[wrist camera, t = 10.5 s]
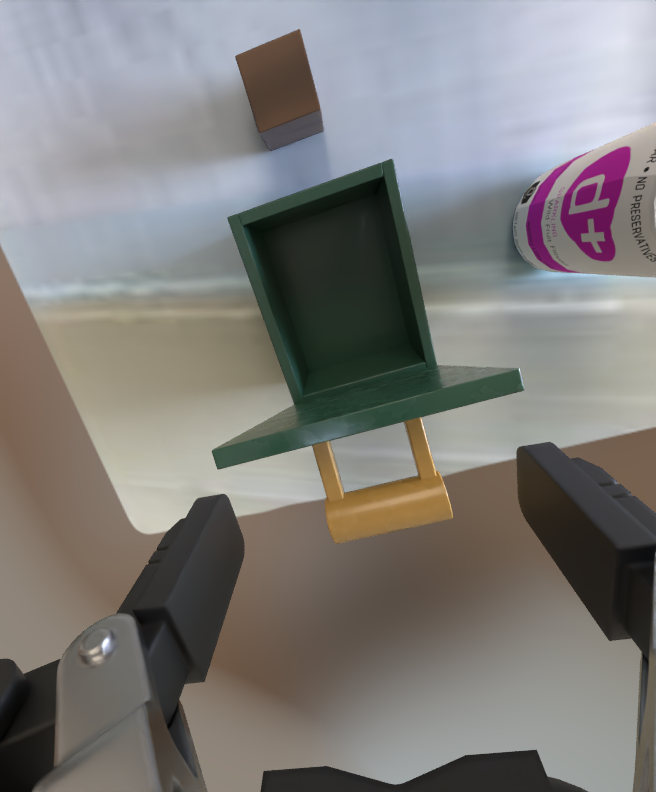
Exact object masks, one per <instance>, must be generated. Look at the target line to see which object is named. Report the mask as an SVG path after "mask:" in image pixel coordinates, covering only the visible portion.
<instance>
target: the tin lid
mask: <svg viewBox="0 0 656 792" xmlns="http://www.w3.org/2000/svg"><path fill="white" fill-rule="evenodd" d="M520 391H524V385H523V381H522V377H521V373H520V369H519V368H494V367H468V366H442V365H437V366H433V367H430V368H426V369H422V370H419V371H415V372H412V373H408V374H404V375H401V376H397V377H393V378H390V379H386V380H383V381H379V382H375V383H372V384H368V385H364V386H361V387H357V388H354V389H350V390H346V391H343V392H339V393H335V394H332V395H328V396H325V397H321V398H317V399H314V400H310V401H306V402H303V403H299V404H296V405H293V406H291V407H289V408H287V409H286V410H284V411H282V412H280V413H278V414H277V415H275V416H273V417H271V418H269V419H268V420H266V421H264V422H262V423H260V424H259V425H257V426H255V427H253V428H251V429H249V430H248V431H246V432H244V433H242V434H240V435H239V436H237V437H235V438H233V439H231V440H230V441H228V442H226V443H224V444H222V445H221V446H219V447H217V448H215V449H213V450H212V453H213V457H214V460H215V463H216V467H217V469H222V468H226V467H230V466H234V465H238V464H242V463H246V462H249V461H253V460H257V459H261V458H265V457H269V456H273V455H277V454H280V453H284V452H288V451H292V450H296V449H300V448H304V447H308V446H311V445H312V447H313V450H314V454H315V457H316V461H317V464H318V468H319V471H320V475H321V478H322V482H323V485H324V489H325V492H326V496H327V498H326V500H325V512H326V519H327V524H328V528H329V531H330V534H331V536H332V539H333V541H334V542H335V543H336V544H339V543H344V542H348V541H353V540H357V539H362V538H366V537H371V536H376V535H380V534H385V533H389V532H394V531H398V530H402V529H408V528H412V527H417V526H421V525H426V524H430V523H435V522H439V521H444V520H449V519H452V517H453V514H452V509H451V505H450V501H449V498H448V494H447V491H446V488H445V485H444V482H443V480H442V477H441V475H440V473H439V472H438V471H436V470H435V467H434V463H433V459H432V455H431V452H430V448H429V444H428V441H427V437H426V433H425V429H424V426H423V422H422V418H421V417H424V416H427V415H431V414H435V413H439V412H443V411H447V410H451V409H455V408H458V407H462V406H466V405H470V404H474V403H478V402H482V401H485V400H489V399H493V398H497V397H501V396H505V395H509V394H513V393H516V392H520ZM400 422H404V424H405V428H406V432H407V435H408V439H409V443H410V446H411V450H412V454H413V457H414V461H415V465H416V468H417V472H418V475H417V476H413V477H409V478H405V479H401V480H396V481H392V482H388V483H384V484H380V485H375V486H371V487H367V488H363V489H358V490H354V491H350V492H346V493H345V492H344V489H343V485H342V482H341V478H340V475H339V471H338V468H337V464H336V461H335V457H334V454H333V450H332V447H331V443H330V441H331V440H335V439H338V438H342V437H346V436H350V435H354V434H358V433H362V432H366V431H369V430H373V429H377V428H381V427H385V426H389V425H393V424H396V423H400Z"/></svg>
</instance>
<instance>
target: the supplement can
mask: <svg viewBox="0 0 656 792" xmlns="http://www.w3.org/2000/svg"><path fill="white" fill-rule="evenodd" d="M513 235H514V241H515V246H516V248H517V249H518V251H519V253H520V254H521V256H522V257H523V259H524V260H525V261H527V262H528V263H529V264H531V265H532V266H534V267H535V268H537V269H542V270H546V271H551V272H566V273H585V274H603V275H621V276H639V277H656V122H655V123H653V124H651V125H649V126H646V127H644V128H642V129H640V130H637V131H635V132H633V133H630V134H628V135H626V136H624V137H621V138H619V139H617V140H614V141H612V142H610V143H608V144H605V145H603V146H601V147H599V148H596V149H594V150H592V151H589V152H587V153H585V154H583V155H580V156H578V157H576V158H574V159H571V160H569V161H567V162H564V163H562V164H560V165H558V166H556V167H554V168H552V169H550V170H549V171H547V172H545V173H544V174H542V175H540V176H539V177H538V178H537V179H536V180H535V181H534V182H533V183H532V184H531V185H530V186H529V187H528V188H527V190H526V191H525V192H524V194H523V196H522V198H521V200H520V202H519V204H518V206H517V208H516V211H515V217H514V222H513Z"/></svg>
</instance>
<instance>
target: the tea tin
mask: <svg viewBox="0 0 656 792" xmlns="http://www.w3.org/2000/svg"><path fill="white" fill-rule="evenodd" d="M227 219H228V221H229V224H230V227H231V230H232V233H233V235H234V238H235V241H236V244H237V246H238V249H239V252H240V255H241V257H242V260H243V263H244V266H245V269H246V271H247V274H248V277H249V280H250V282H251V285H252V288H253V291H254V294H255V296H256V299H257V302H258V305H259V307H260V310H261V313H262V316H263V318H264V321H265V324H266V327H267V330H268V332H269V335H270V338H271V341H272V343H273V346H274V349H275V352H276V355H277V357H278V360H279V363H280V366H281V368H282V371H283V374H284V377H285V379H286V382H287V385H288V388H289V391H290V393H291V396H292V399H293V402H294V404H295V405H296V404H299V403H303V402H306V401H310V400H314V399H317V398H321V397H325V396H328V395H332V394H335V393H339V392H343V391H346V390H350V389H354V388H357V387H361V386H364V385H368V384H372V383H375V382H379V381H383V380H386V379H390V378H393V377H397V376H401V375H404V374H408V373H412V372H415V371H419V370H422V369H426V368H430V367H433V366H437V363H436V358H435V353H434V349H433V344H432V339H431V334H430V330H429V325H428V320H427V316H426V311H425V306H424V302H423V297H422V292H421V288H420V283H419V278H418V274H417V269H416V264H415V260H414V255H413V250H412V245H411V241H410V236H409V231H408V227H407V222H406V217H405V213H404V208H403V203H402V199H401V194H400V189H399V185H398V180H397V175H396V170H395V166H394V161H393V159H390V160H387V161H384V162H382V163H379V164H376V165H373V166H370V167H367V168H365V169H362V170H359V171H356V172H353V173H351V174H348V175H345V176H342V177H339V178H336V179H334V180H331V181H328V182H325V183H322V184H320V185H317V186H314V187H311V188H308V189H306V190H303V191H300V192H297V193H294V194H292V195H289V196H286V197H283V198H280V199H278V200H275V201H272V202H269V203H266V204H264V205H261V206H258V207H255V208H252V209H250V210H247V211H244V212H241V213H239V214H236V215H233V216H230V217H228V218H227Z"/></svg>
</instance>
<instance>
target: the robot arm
mask: <svg viewBox="0 0 656 792" xmlns="http://www.w3.org/2000/svg"><path fill="white" fill-rule="evenodd" d="M517 484H518V500H519V504H520V508H521V511H522V513H523V515H524V517H525V519H526V521H527V522H528V524H529V525H530V527H531V528H532V530H533V531H534V532H535V534H536V535H537V537H538V538H539V540H540V541H541V543H542V544H543V545H544V547H545V548H546V550H547V551H548V553H549V554H550V555H551V557H552V559H553V560H554V561H555V563H556V564H557V566H558V567H559V569H560V570H561V571H562V573H563V575H564V576H565V577H566V579H567V580H568V582H569V583H570V584H571V586H572V587H573V589H574V590H575V592H576V593H577V595H578V596H579V598H580V599H581V601H582V602H583V604H584V605H585V606H586V608H587V609H588V611H589V612H590V614H591V615H592V617H593V618H594V619H595V621H596V622H597V624H598V625H599V627H600V628H601V630H602V631H603V632H604V634H605V635H606V637H607V638H608V640H609V641H612V640H621V639H631V638H632V639H633V641H634V642H635V643H636V645H637V646H638V647H639V649H640V650H641V651H642V654H641V661H640V681H639V701H638V702H639V703H638V722H637V741H636V760H635V773H634V784H633V792H656V513H655V512H654V511H652V510H651V509H650V508H649V507H648V506H646V505H645V504H644V503H643V502H642V501H640V500H639V499H638V498H637V497H635V496H632V495H631V492H629V491H628V490H627V489H626V488H625V487H623V486H622V485H621V484H618V483H617V481H616V480H615V479H614V478H613V477H611V476H610V475H609V474H608V473H607V472H605V471H604V470H603V469H602V468H600V467H598V466H596V465H594V464H592V463H589V462H587V461H585V460H583V459H580V458H572V459H570V458H569V457H568V456H566V455H565V454H564V453H563V452H562V451H561V450H560V449H559V448H558V447H557V446H555V445H554V444H553V443H551V442H546V443H540V444H534V445H528V446H521V447H519V448H518V449H517ZM243 558H244V539H243V536H242V533H241V530H240V527H239V525H238V522H237V519H236V516H235V514H234V511H233V508H232V506H231V503H230V500H229V498H228V497H227V495H225V494H220V495H214V496H208V497H202V498H198V499H197V500H196V501H195V502H194V504H193V506H192V508H191V509H190V511H189V513H188V514H187V516H186V518H184V519H180V520H179V521H178V522H177V523H176V524H175V525H174V526H173V527H172V528H171V529H170V530H169V531H168V532H167V533H166V534H165V536H164V537H163V539H162V541H161V542H160V544H159V545H158V547H157V551H155V552H154V553H153V555H152V557H151V559H150V560H149V564H148V565H146V566H145V568H144V569H143V571H142V573H141V575H140V576H139V578H138V579H137V581H136V582H135V584H134V586H133V587H132V589H131V590H130V592H129V594H128V595H127V597H126V598H125V600H124V602H123V603H122V605H121V606H120V608H119V610H118V611H117V613H116V614H115V615H111V616H108V617H105V618H103V619H101V620H99V621H98V622H96V623H94V624H93V625H91V626H90V627H89V628H87V629H86V630H84V631H83V632H82V633H81V634H80V635H79V636H78V637H77V638H76V639H75V640H74V641H73V642H72V643H71V645H70V646H69V647H68V648H67V650H66V651H65V653H64V654H63V656H62V658H61V659H59V660H56V661H54V662H51V663H49V664H47V665H44V666H42V667H40V668H37V669H35V670H32V671H30V672H27V673H25V674H23V673H22V672H21V670H20V669H19V668H18V666H17V665H16V664H15V662H14V661H12V660H10V659H0V792H207V788H206V785H205V782H204V778H203V775H202V771H201V768H200V764H199V761H198V757H197V754H196V751H195V747H194V744H193V740H192V737H191V733H190V730H189V727H188V723H187V720H186V716H185V713H184V709H183V706H182V704H181V702H180V700H179V698H180V695H181V693H182V689H183V687H184V684H187V683H197V682H204V681H205V678H206V675H207V672H208V669H209V666H210V663H211V659H212V656H213V653H214V650H215V647H216V644H217V641H218V637H219V634H220V631H221V628H222V625H223V621H224V618H225V615H226V612H227V609H228V606H229V603H230V600H231V596H232V593H233V590H234V587H235V584H236V581H237V578H238V574H239V571H240V568H241V565H242V562H243ZM261 792H588V791H586V790H583V789H582V788H580V787H577V786H575V785H572V784H569V783H567V782H564V781H562V780H559V779H555V778H551V777H547V775H546V773H545V770H544V767H543V765H542V762H541V760H540V757H539V755H538V752H537V750H529V751H515V752H503V753H491V754H479V755H478V754H477V755H465V756H463V757H461V758H459V759H457V760H454V761H452V762H450V763H448V764H446V765H443V766H441V767H439V768H436V769H435V770H432V771H430V772H428V773H426V774H423V775H421V776H419V777H416V778H414V779H412V780H410V781H408V782H405V783H403V784H397V785H393V784H388V783H385V782H381V781H378V780H374V779H370V778H367V777H363V776H360V775H356V774H353V773H349V772H346V771H342V770H339V769H335V768H331V767H328V766H324V767H310V768H299V769H285V770H272V771H264V773H263V779H262V786H261Z"/></svg>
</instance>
